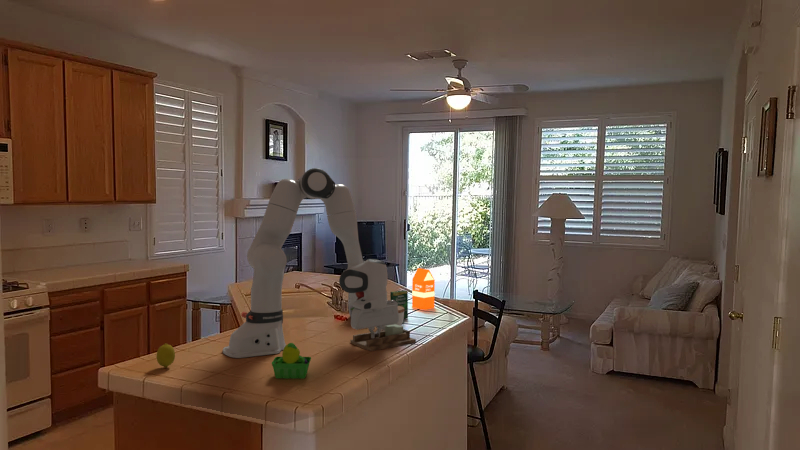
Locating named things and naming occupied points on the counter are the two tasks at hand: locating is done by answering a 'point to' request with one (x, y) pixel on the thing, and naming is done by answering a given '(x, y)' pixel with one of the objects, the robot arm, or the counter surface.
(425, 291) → the orange juice
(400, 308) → the lidded bowl
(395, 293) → the coffee box
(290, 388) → the counter surface
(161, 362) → the lemon
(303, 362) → the fruit basket
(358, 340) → the board
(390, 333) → the block
